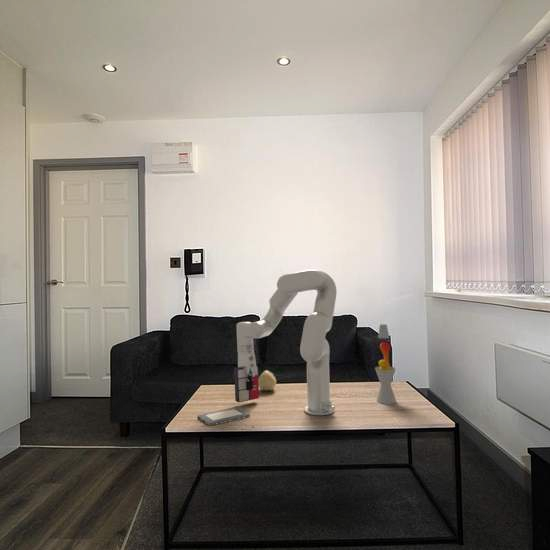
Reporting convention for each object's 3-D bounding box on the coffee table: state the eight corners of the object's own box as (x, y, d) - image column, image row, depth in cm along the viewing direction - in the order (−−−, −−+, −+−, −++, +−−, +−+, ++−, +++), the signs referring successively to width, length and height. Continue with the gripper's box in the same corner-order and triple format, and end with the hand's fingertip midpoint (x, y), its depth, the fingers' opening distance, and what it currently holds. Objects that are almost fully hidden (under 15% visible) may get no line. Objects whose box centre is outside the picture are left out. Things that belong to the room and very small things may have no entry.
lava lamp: (385, 397, 174) (382, 323, 176) (401, 401, 167) (397, 324, 168) (371, 400, 169) (368, 324, 171) (387, 405, 162) (384, 325, 163)
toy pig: (278, 387, 197) (277, 367, 198) (275, 393, 185) (274, 372, 186) (260, 387, 199) (259, 367, 199) (256, 393, 187) (255, 372, 187)
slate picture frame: (250, 416, 152) (249, 413, 152) (209, 426, 142) (209, 423, 142) (236, 409, 162) (236, 406, 162) (197, 417, 152) (197, 415, 153)
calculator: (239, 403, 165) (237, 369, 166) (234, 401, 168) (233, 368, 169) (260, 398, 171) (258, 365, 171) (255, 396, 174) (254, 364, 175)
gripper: (261, 349, 166) (263, 390, 165) (244, 346, 180) (246, 384, 178) (247, 351, 162) (249, 393, 160) (230, 348, 175) (232, 387, 174)
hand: (247, 388), depth 169 cm, fingers closed on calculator, 3 cm apart
